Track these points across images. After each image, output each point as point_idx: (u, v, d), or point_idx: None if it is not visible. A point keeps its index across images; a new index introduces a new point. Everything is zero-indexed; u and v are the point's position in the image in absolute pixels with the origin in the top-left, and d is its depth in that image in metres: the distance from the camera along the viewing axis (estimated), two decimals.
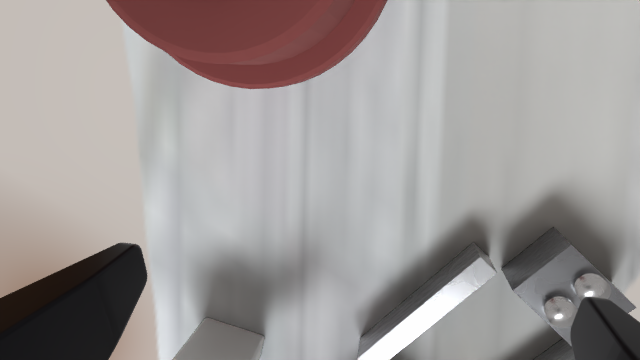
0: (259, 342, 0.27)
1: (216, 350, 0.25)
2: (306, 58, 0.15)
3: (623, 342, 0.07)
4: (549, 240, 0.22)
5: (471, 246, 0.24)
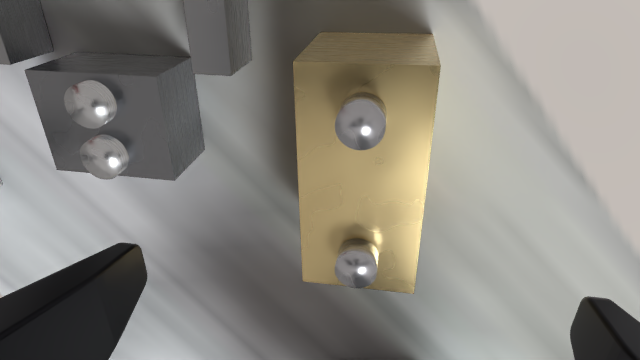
0: None
1: None
2: None
3: (623, 342, 0.07)
4: None
5: None
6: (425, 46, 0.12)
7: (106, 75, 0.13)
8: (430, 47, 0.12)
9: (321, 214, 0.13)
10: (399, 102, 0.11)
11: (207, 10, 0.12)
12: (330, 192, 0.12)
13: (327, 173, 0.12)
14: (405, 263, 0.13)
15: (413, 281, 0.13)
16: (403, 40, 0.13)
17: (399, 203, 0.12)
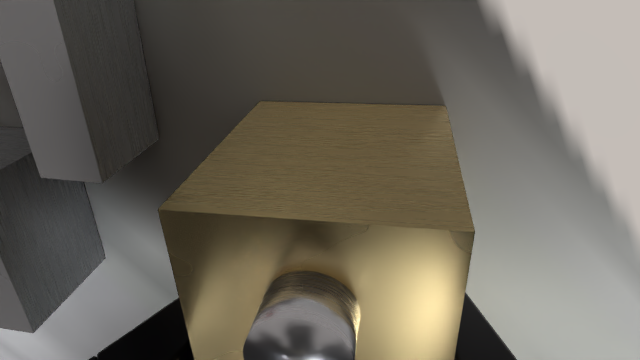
0: None
1: None
2: None
3: None
4: None
5: None
6: (435, 149, 0.06)
7: None
8: (445, 152, 0.06)
9: None
10: (385, 292, 0.05)
11: (44, 77, 0.07)
12: None
13: None
14: None
15: None
16: (395, 129, 0.07)
17: None
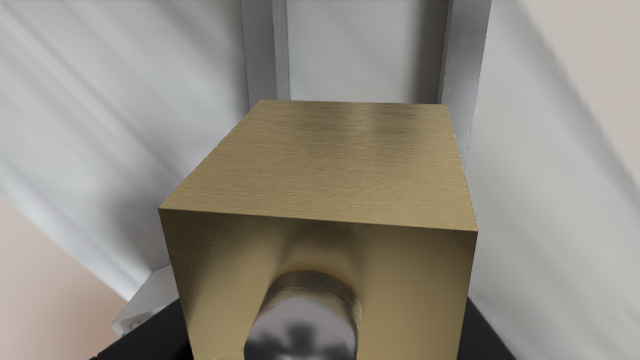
0: None
1: (152, 293, 0.23)
2: None
3: None
4: None
5: None
6: (437, 147, 0.06)
7: None
8: (447, 151, 0.06)
9: None
10: (387, 292, 0.05)
11: None
12: None
13: None
14: None
15: None
16: (396, 127, 0.07)
17: None
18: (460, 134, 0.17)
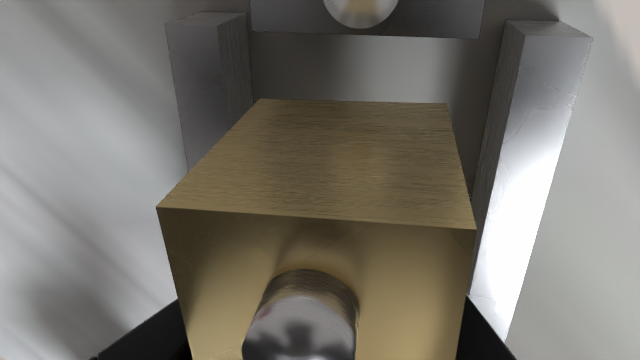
0: None
1: None
2: None
3: None
4: None
5: None
6: (437, 146, 0.06)
7: None
8: (446, 150, 0.06)
9: None
10: (386, 290, 0.05)
11: (492, 312, 0.12)
12: None
13: None
14: None
15: None
16: (395, 126, 0.07)
17: None
18: (517, 246, 0.11)
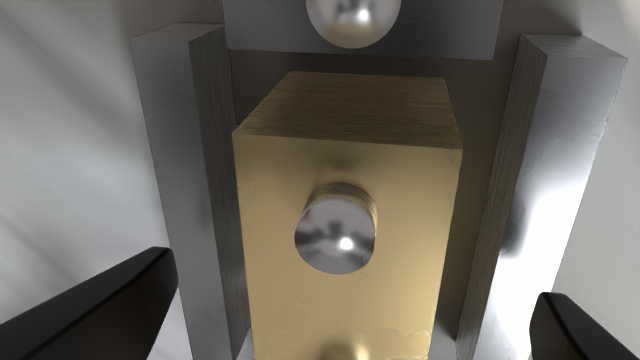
0: None
1: None
2: None
3: (571, 335, 0.07)
4: None
5: None
6: (436, 103, 0.08)
7: None
8: (443, 105, 0.08)
9: (282, 337, 0.09)
10: (397, 199, 0.07)
11: None
12: (295, 310, 0.08)
13: (290, 286, 0.08)
14: None
15: None
16: (403, 90, 0.09)
17: (396, 332, 0.08)
18: (532, 290, 0.09)
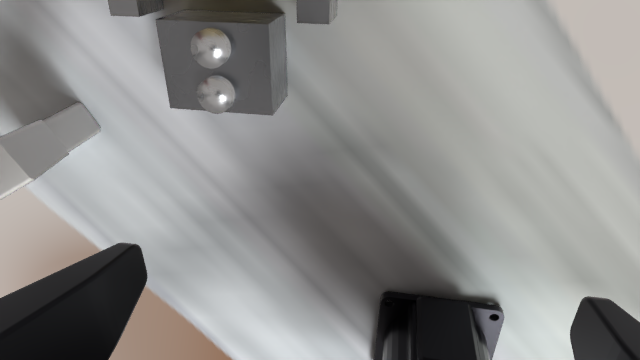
0: (67, 107, 0.21)
1: None
2: None
3: (623, 342, 0.07)
4: None
5: None
6: None
7: (226, 23, 0.16)
8: None
9: None
10: None
11: None
12: None
13: None
14: None
15: None
16: None
17: None
18: None
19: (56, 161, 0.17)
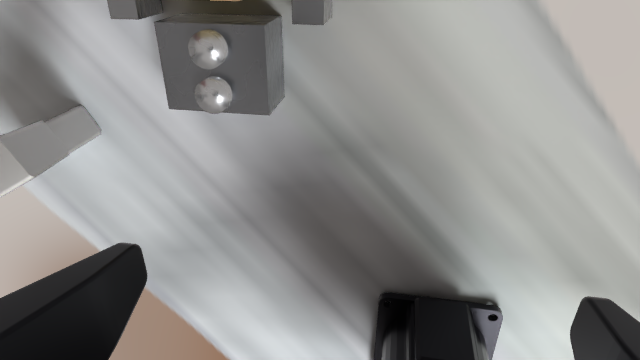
0: (69, 110, 0.22)
1: None
2: None
3: (623, 342, 0.07)
4: None
5: None
6: None
7: (223, 25, 0.16)
8: None
9: None
10: None
11: None
12: None
13: None
14: None
15: None
16: None
17: None
18: None
19: (56, 161, 0.18)
